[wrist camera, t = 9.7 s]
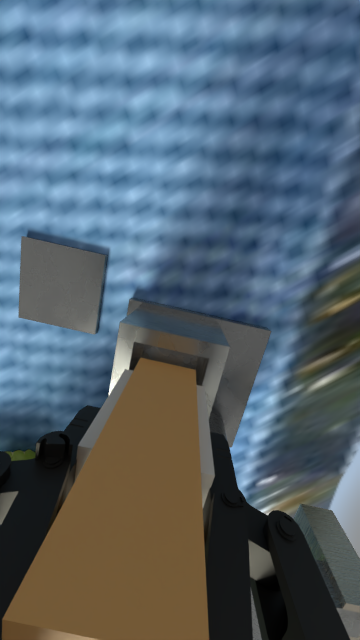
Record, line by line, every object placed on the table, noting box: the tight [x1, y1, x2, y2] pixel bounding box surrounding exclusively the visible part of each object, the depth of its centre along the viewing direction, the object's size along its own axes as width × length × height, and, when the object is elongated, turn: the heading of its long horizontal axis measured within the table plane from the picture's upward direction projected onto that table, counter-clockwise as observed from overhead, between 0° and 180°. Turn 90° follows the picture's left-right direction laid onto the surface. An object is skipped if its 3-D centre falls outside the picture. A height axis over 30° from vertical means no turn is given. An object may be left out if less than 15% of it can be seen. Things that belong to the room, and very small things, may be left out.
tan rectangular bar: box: [2, 358, 209, 640], centre depth 11 cm, size 4×4×12 cm
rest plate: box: [19, 236, 108, 334], centre depth 22 cm, size 8×8×1 cm
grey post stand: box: [108, 298, 360, 640], centre depth 14 cm, size 14×19×22 cm
